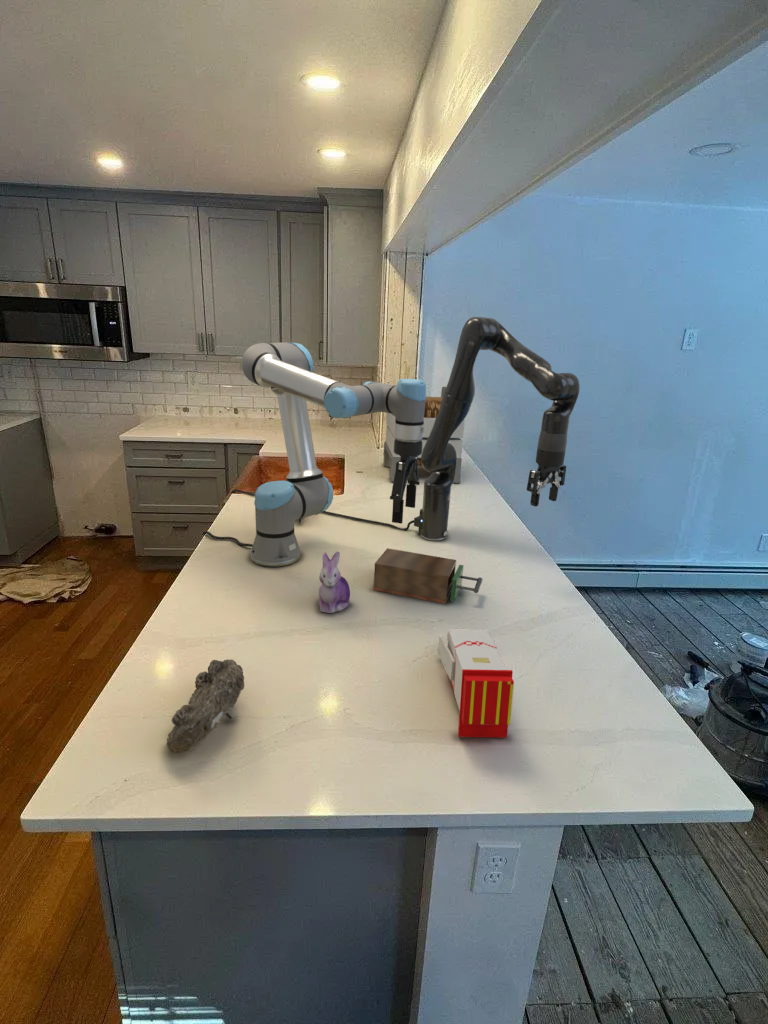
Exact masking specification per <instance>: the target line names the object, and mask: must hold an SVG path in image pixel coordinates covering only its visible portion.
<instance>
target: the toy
mask: <svg viewBox="0 0 768 1024" xmlns="http://www.w3.org/2000/svg"><path fill="white" fill-rule="evenodd" d="M446 640H447V643H446V641H445V639H444V636H443V635H442V634H439V637H438V646H437V656H438V657H439V659H440V661H441V663H442V666H443V668H444V670H445V672H446V674H447V677H448V679H449V681H450V684H451V687H452V690H453V693H454V697H455V701H456V705H457V708H458V711H459V714H458V715H459V716H458V730H457V731H458V732H457V737H458V738H508V731H509V726H510V725H511V717H512V707H513V697H514V696H513V695H514V684H515V680H514V679H513V673H514V671H513V670H512V669H508V667H507V665H506V662H505V661H504V659H503V658H502V655H501V653H500V651H499V649H498V647H497V643H496V639H495V637H494V635H493V634H491V632H490V631H489V629H467V628H466V629H465V628H463V629H461V628H460V629H459V628H448V630H447V639H446Z"/></svg>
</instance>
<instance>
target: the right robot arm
mask: <svg viewBox="0 0 768 1024" xmlns="http://www.w3.org/2000/svg"><path fill="white" fill-rule="evenodd" d="M480 351H492V352H494V353H497V354H499V355H500V356H502V357H503V358H504V359H505V360H506V361H507V362H508V364H509V365H510V367H511V369H512V370H513V371H514V372H516V374H518V375H519V376H520V377H521V378H523V379H525V380H526V381H528V382H529V383H530V384H531V385H532V386H533V387H534V388H535V390H536V391H537V392H538V393H539V394H540V395H541V396H542V397H543V398H545V399H547V400H549V401H552V404H551V406H549V407H548V408H546V409H545V410H544V411H543V414H542V418H541V419H542V420H541V426H540V432H539V436H538V441H537V446H536V447H537V449H536V455H535V463H536V464H537V469H536V470H534V469H530V470H529V474H528V479H527V484H526V491H527V492H530V493H531V495H530V506H533V507H539V503H540V496H541V491H542V490H543V489H545V487H546V486H547V485H548V484H549V486H550V487H549V495H548V500H549V501H552V502H556V501H558V500H557V499H558V494H559V489H561V486H564V485H565V480H566V474H567V466H566V465H565V464H564V463H565V457H566V450H567V444H568V431H569V424H570V418H571V415H572V413H573V411H574V408H575V406H576V403H577V400H578V398H579V396H580V395H579V394H580V389H581V388H580V387H581V385H580V380H579V378H578V376H577V375H576V374H574V373H571V372H555V371H553V370H552V365H551V363H550V362H549V361H548V360H547V359H545V358H544V357H542V356H540V355H539V354H538V353H536V352H535V351H532V350H531V349H530V348H528V347H527V346H525V345H524V344H523V343H522V342H520V341H519V340H518V339H517V338H515V337H514V336H513V335H512V334H511V333H510V332H509V331H508V330H507V329H506V328H505V327H504V326H503V325H502V324H501V323H500V322H499V321H498V320H496V319H494V318H492V317H486V316H485V317H484V316H472V317H470V318H468V319H467V320H466V321H465V323H464V325H463V327H462V329H461V333H460V336H459V341H458V345H457V350H456V354H455V358H454V362H453V365H452V369H451V371H450V375H449V379H448V381H447V384H446V386H445V387H446V389H445V392H444V395H443V398H442V402H441V405H440V408H439V411H438V414H437V417H436V420H435V423H434V425H433V428H432V431H431V433H430V435H429V437H428V439H427V442H426V444H425V446H424V448H423V451H422V455H421V463H422V466H421V467H423V470H424V471H426V472H428V473H431V474H430V475H429V476H428V477H427V478H426V479H425V480H424V482H423V493H422V496H423V497H422V506H421V508H420V509H419V515H418V516H416V517H414V518H413V519H412V520H410V521H408V523H407V525H406V527H404V528H401V527H398V526H396V525H394V524H391V523H388V522H382V521H377V520H371V519H367V518H361V517H355V516H350V515H345V514H340V513H336V512H332V511H327V510H325V511H323V512H321V514H322V513H323V514H327V515H331V516H336V517H340V518H345V519H350V520H353V521H354V520H355V521H359V522H366V523H371V524H376V525H380V526H386V527H391V528H393V529H395V530H398V531H403V532H404V531H408V530H409V529H410V526H411V524H413V526H414V527H416V528H418V530H417V535H418V536H420V538H421V539H424V540H426V541H432V542H440V541H444V540H446V539H447V538H448V534H449V529H448V525H449V517H450V516H449V514H450V504H451V494H452V493H451V491H452V486H453V484H454V483H453V482H454V477H455V470H456V462H457V455H456V450H455V448H454V447H453V445H452V444H450V443H448V442H449V439H450V437H451V436H452V434H453V433H454V431H455V430H456V429H457V428H458V426H459V425H460V424H461V423H462V421H463V420H465V419H466V418H467V416H468V414H469V412H470V410H471V407H472V404H473V401H474V398H475V394H476V385H475V378H474V367H475V363H476V360H477V357H478V354H479V352H480ZM236 492H237V493H240V494H244V495H250V496H254V497H255V493H253V492H248V491H244V490H241V489H233V490H232V491H231V492H230V493H231V494H233V493H236Z"/></svg>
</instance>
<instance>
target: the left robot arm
mask: <svg viewBox="0 0 768 1024" xmlns="http://www.w3.org/2000/svg"><path fill="white" fill-rule="evenodd" d="M241 370H242V373H243V374H244V376H245V378H247V380H248V381H250V382H251V383H253V384H255V385H257V386H260V387H263V388H265V389H266V388H269V389H270V390H271V391H272V392H273V393H274V394H275V395H276V396H277V404H278V409H279V414H280V415H279V416H280V420H281V426H282V432H283V438H284V443H285V450H286V457H287V461H288V462H287V463H288V468H289V472H288V474H287V475H286V477H285V480H282V479H281V480H272V481H267V482H265V483H262V484H261V485H259V486H258V487H257V488H256V490H255V492H254V494H255V496H254V502H253V503H254V507H255V508H254V513H255V537H254V540H253V543H246V542H245V543H244V542H240V540H239V539H238V538H236V537H233V536H217V535H214V534H213V533H211V532H210V531H208V530H205V531H204V532H202V535H203V536H205V535H208V536H209V537H210V538H212V539H213V540H221V541H222V540H223V541H225V540H230V541H234V542H235V543H236V544H237V545H239V546H241V547H249V548H251V549H250V559H251V561H252V562H253V563H254V564H256V565H259V566H261V567H268V568H272V567H273V568H278V567H285V566H289V565H293V564H294V563H296V562H298V561H299V560H300V559H301V556H302V555H301V551H302V550H301V547H300V546H299V543H298V539H297V536H296V534H295V522H297V521H299V520H300V519H301V520H304V519H306V518H309V517H312V516H316V515H319V514H322V512H323V511H327V510H328V509H329V508H330V507H331V505H332V504H333V503H332V502H333V500H334V489H333V485H332V483H331V482H330V481H329V478H327V477H326V476H324V473H323V471H322V470H321V469H320V468H318V466H317V460H316V459H317V458H316V454H315V453H316V452H315V446H314V440H313V435H312V429H311V422H310V417H309V409H308V404H307V402H309V403H312V404H314V405H317V406H318V407H321V408H324V409H325V411H326V412H327V413H328V415H329V416H330V417H331V418H334V419H349V418H352V417H358V416H363V415H370V414H375V413H385V414H386V413H391V414H396V417H395V435H394V437H395V438H396V439H395V440H394V453H395V454H397V455H400V456H401V458H400V461H399V462H396V471H395V477H394V482H392V489H391V495H390V496H389V500H392V511H391V512H392V513H391V523H394V524H400V525H401V524H403V520H404V507H405V508H413V509H415V508H416V500H417V499H416V498H417V486H420V484H421V482H420V481H419V480H420V477H419V476H420V475H419V466H418V456H419V455H421V453H422V443H423V442H422V441H421V439H422V438H423V432H425V428H423V426H424V411H425V402H426V397H427V385H426V382H425V381H424V380H422V379H417V378H400V379H398V380H397V384H390V383H384V382H379V381H365V382H364V383H363V384H360V385H349V384H345V383H343V382H340V381H338V380H335V379H332V378H330V377H326V376H324V375H321V374H318V373H316V372H314V361H313V357H312V355H311V353H310V351H309V350H308V348H306V347H305V346H304V345H303V344H302V343H298V342H291V341H285V342H284V341H283V342H259V343H255V344H252V345H251V346H250V347H248V348H247V349H246V350H245V351H244V353H243V355H242V357H241ZM404 496H405V500H404ZM404 503H405V505H404ZM303 518H304V519H303Z"/></svg>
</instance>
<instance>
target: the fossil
mask: <svg viewBox="0 0 768 1024" xmlns="http://www.w3.org/2000/svg"><path fill="white" fill-rule="evenodd" d="M243 670H244V669H243V667H242V665H240V664H237V662H236V661H235V660H234V659H232V658H231V659H227V658H226V659H224V660H223V661H222V660H217V659H212V660H211V661H210V663H209V665H208V666H207V671H201V672H199V673H198V674H197V675H196V676H195V680H194V684H195V685H194V687H195V689H194V690H193V693H192V694H191V697H190V698H189V700H188V704H184V705H182V706H181V707H180V709H177V710H176V711H175V713H174V715H173V716H172V718H171V723H172V724H173V727H172V730H171V731H170V732H168V734H167V738H166V741H167V742H166V745H167V749H168V750H169V751H173V752H174V753H176V754H178V753H182V752H188V751H189V752H192V751H193V750H195V748H196V747H197V746H199V744H200V743H201V742H203V741H204V740H205V739H206V738H207V737H208V736H209V735H210V734H211V733H212V732H214V730H215V729H217V727H218V726H219V724H220V722H221V721H222V720H223V719H224V718H225V716H226V717H227V719H229V720H233V717H232V715H230V714H229V710H230V709H231V708H234V706H235V704H236V703H237V702H238V699H239V697H240V695H241V693H242V691H243V690H245V689H244V688H245V675H244V671H243Z"/></svg>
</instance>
